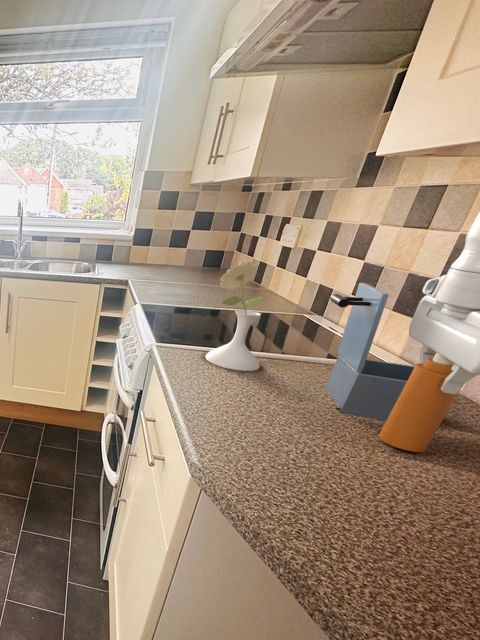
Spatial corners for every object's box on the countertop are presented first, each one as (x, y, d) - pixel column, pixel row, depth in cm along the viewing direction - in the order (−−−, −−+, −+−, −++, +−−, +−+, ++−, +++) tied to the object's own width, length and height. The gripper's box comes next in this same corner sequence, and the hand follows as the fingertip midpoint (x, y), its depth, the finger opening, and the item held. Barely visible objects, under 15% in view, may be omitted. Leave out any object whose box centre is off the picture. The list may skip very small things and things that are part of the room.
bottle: (415, 438, 70) (473, 336, 62) (431, 455, 65) (496, 347, 58) (373, 430, 72) (424, 330, 64) (386, 446, 67) (443, 340, 60)
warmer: (403, 407, 84) (425, 367, 80) (432, 434, 75) (458, 390, 71) (321, 393, 89) (338, 354, 86) (338, 416, 80) (358, 374, 76)
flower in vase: (247, 362, 105) (282, 260, 94) (265, 380, 95) (306, 267, 84) (191, 356, 107) (219, 256, 97) (202, 372, 97) (235, 263, 87)
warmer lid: (364, 282, 80) (329, 281, 82) (389, 293, 70) (348, 292, 72) (342, 353, 85) (309, 350, 87) (362, 372, 76) (324, 368, 78)
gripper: (574, 313, 49) (506, 416, 54) (473, 284, 65) (429, 365, 71) (499, 306, 51) (441, 405, 57) (421, 279, 68) (382, 358, 74)
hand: (434, 383), depth 64 cm, fingers closed on bottle, 5 cm apart
